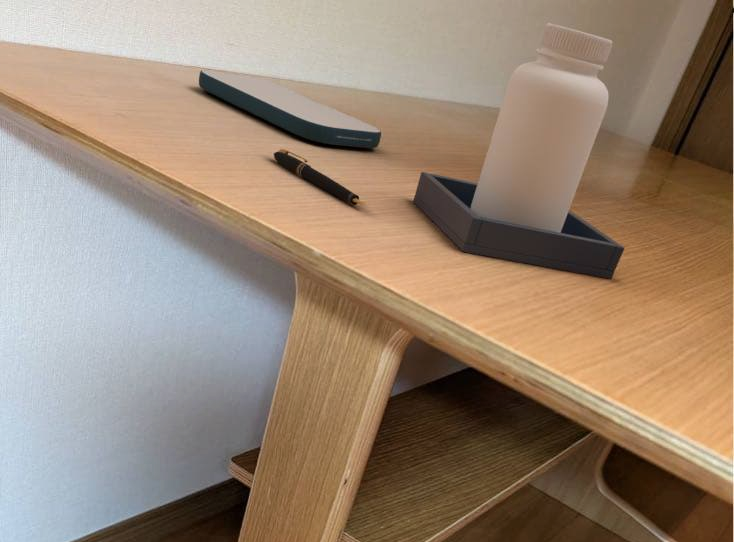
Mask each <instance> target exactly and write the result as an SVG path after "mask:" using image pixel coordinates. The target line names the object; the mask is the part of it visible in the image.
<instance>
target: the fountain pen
mask: <svg viewBox="0 0 734 542" xmlns="http://www.w3.org/2000/svg"><path fill="white" fill-rule="evenodd" d="M294 156H295V157H294ZM273 158H274V160H275V161H276V162H277V163H278V164H279V165H281V166H282V167H283V168H285V169H286V170H288V171H289V172H291V173H292V174H294V175H296V176H297V177H299V178H300V179H305V180H306V181H308V182H309V183H311V184H313V185H315V186H317V187H319V188H321V189H322V190H324V191H326V192H328V193H330V194H332V195H334V196H335V197H338V198H340V199H341V200H344V201H346V202H348V203H350V204H351V205H353V206H356V205H363V206H366V207H368V205H367V204H366V203H365V202H364V201H361V200H360V196H359V195H358V194H356V193H354V192H353V191H351V190H349V189H348V188H346V187H345V186H344V185H341V184H340V183H338V182H337V181H335V180H334V179H332V178H330V177H329V176H327V175H325V174H323V173H322V172H320V171H318V170H316V169H314V168H313V167H311V165H309V164H308V162H309V159H306V158H305V157H302V156H301V155H298V154H296V153H293V152H291V151H289V150H287V149H283V148H280V149H279V150H278V151H275V152H273ZM300 159H301V160H300ZM302 160H304V161H302Z"/></svg>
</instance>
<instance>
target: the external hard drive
mask: <svg viewBox="0 0 734 542" xmlns="http://www.w3.org/2000/svg"><path fill="white" fill-rule="evenodd" d="M198 86H199V88H201V89H202V90H203V91H206V92H208V93H210V94H211V95H214V96H216V97H218V98H220V99H222V100H224V101H226V102H228V103H230V104H232V105H234V106H236V107H238V108H240V109H242V110H245V111H247V112H248V113H251V114H253V115H254V116H256V117H259V118H260V119H264V120H265V121H267V122H269V123H271V124H274V125H275V126H278V127H280V128H282V129H283V130H285V131H288V132H290V133H292V134H295V135H297V136H299V137H302V138H304V139H307V140H311V141H314V142H318V143H322V144H328V145H336V146H344V147H345V146H346V147H355V148H367V149H377V147H379V145H380V141H381V138H382V131H381V130H380V129H379V128H378V127H375V126H374V125H372V124H370V123H368V122H365V121H363V120H361V119H358V118H356V117H354V116H351V115H349V114H347V113H344V112H342V111H341V110H338V109H335V108H333V107H331V106H329V105H327V104H324V103H323V102H319V101H318V100H315V99H313V98H311V97H309V96H306V95H304V94H302V93H299V92H297V91H295V90H293V89H291V88H288V87H286V86H283V85H282V84H279V83H275V82H273V81H271V80H267V79H262V78H260V77H256V76H255V77H254V76H250V75H243V74H236V73H230V72H223V71H217V70H210V69H201V70H200V71H199V76H198Z"/></svg>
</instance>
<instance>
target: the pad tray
mask: <svg viewBox="0 0 734 542" xmlns="http://www.w3.org/2000/svg"><path fill="white" fill-rule="evenodd" d="M477 184H478V182H472V181H468V180H464V179H458V178H454V177H449V176H444V175H440V174H436V173H429V172H426V171H421V172H420V176H419V179H418V182H417V187H416V191H415V194H414V197H413V201H412V202H413V203H414V204H415V205H416V207H417V208H419V209H420V210H421V211H422V212H423V213H424V215H426V216H427V217H428V218H429V219H430V220H431V221H432V222H433V223H434V224H435V225H436V227H438V229H440V230H441V231H442V232H443V233H444V234H445V235H446V236H447V238H449V239H450V241H452V242H453V244H455V246H457V248H459V249H460V251H462V252H463V253H469V254H474V255H480V256H485V257H489V258H494V259H495V258H497V259H501V260H506V261H512V262H518V263H523V264H528V265H533V266H538V267H544V268H549V269H550V268H551V269H556V270H561V271H566V272H571V273H577V274H581V275H587V276H593V277H599V278H603V279H609V280H612V279H613V277H614V274H615V271H616V270H617V268H618V265H619V262H620V260H621V258H622V255H623V253H624V251H625V247H624V246H623V245H621V244H620V243H618V242H617V241H615V240H614V239H613V238H611V237H609V236H608V235H606V234H605V233H604V232H602V231H601V230H599V229H598V228H596V227H595V226H593V225H592V224H590V223H589V222H588V221H586V220H585V219H583V218H582V217H580V216H579V215H577V214H576V213H574V212H573V211H572V210H571V209H569V211H568V214H567V217H566V219H565V222H564V225H563V227H562V230H561V232H560V233H559V232H554V231H549V230H544V229H539V228H534V227H529V226H524V225H519V224H514V223H509V222H504V221H499V220H494V219H489V218H484V217H479V216H478V215H477V214H475V213H474V212H473V211H472V210H471V204H472V201H473V197H474V194H475V191H476V188H477Z"/></svg>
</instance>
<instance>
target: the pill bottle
mask: <svg viewBox="0 0 734 542" xmlns="http://www.w3.org/2000/svg"><path fill="white" fill-rule="evenodd" d="M539 44H540V48H539V47H538V48H536V50H535V53H538V56H537V59H536V60H534V61H528V62H525V63H523V64H520V65H519V66H517V68H515V70H514V71H513V73H512V74H511V76H510V78H509V81H508V84H507V86H506V90H505V93H504V97H503V100H502V103H501V105H500V109H499V112H498V115H497V120H496V122H495V126H494V129H493V133H492V136H491V138H490V142H489V146H488V149H487V152H486V156H485V159H484V162H483V164H482V165H483V166H482V167H481V172H480V175H479V178H478V181H477V183H478V184H477V188H476V191H475V194H474V197H473V201H472V204H471V210H472V211H473V212H474V213H475V214H477V215H478V216H479V217H484V218H489V219H494V220H499V221H504V222H509V223H514V224H519V225H524V226H529V227H534V228H539V229H544V230H549V231H554V232H559V233H560V232H561V230H562V227H563V225H564V222H565V219H566V217H567V214H568V211H569V210H571V209H570V208H571V205H572V203H573V200H574V198H575V195H576V193H577V190H578V187H579V184H580V182H581V179H582V176H583V173H584V171H585V168H586V165H587V164H588V160H589V158H590V154H591V152H592V149H593V147H594V144H595V141H596V138H597V136H598V134H599V131H600V128H601V125H602V123H603V120H604V117H605V114H606V112H607V109H608V105H609V100H610V99H609V91H608V87H606V85H605V84H604V82H603V81H601V80H600V78H598V73H599V70H600V71H603V70H604V68H605V67H604V65H602V63H607V61H608V58H609V56H610V53H611V50H612V48H613V45H614V44H613V40H611V39H608V38H605V37H602V36H599V35H595V34H591V33H588V32H584V31H581V30H577V29H573V28H569V27H566V26H562V25H558V24H554V23H550V22H548V23H546V24H545V25H544V28H543V30H542V34H541V37H540V40H539Z"/></svg>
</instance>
